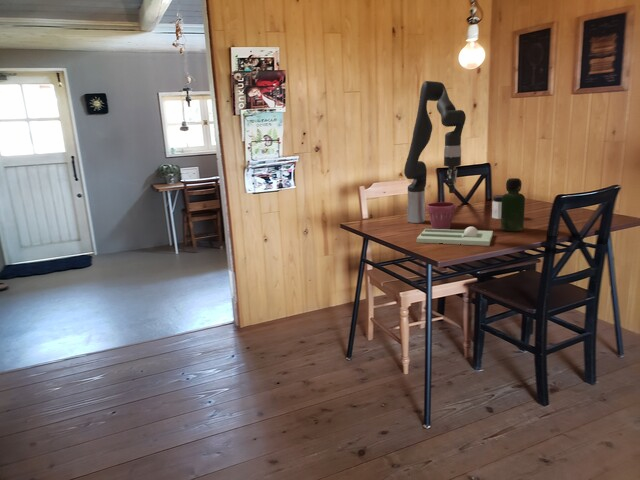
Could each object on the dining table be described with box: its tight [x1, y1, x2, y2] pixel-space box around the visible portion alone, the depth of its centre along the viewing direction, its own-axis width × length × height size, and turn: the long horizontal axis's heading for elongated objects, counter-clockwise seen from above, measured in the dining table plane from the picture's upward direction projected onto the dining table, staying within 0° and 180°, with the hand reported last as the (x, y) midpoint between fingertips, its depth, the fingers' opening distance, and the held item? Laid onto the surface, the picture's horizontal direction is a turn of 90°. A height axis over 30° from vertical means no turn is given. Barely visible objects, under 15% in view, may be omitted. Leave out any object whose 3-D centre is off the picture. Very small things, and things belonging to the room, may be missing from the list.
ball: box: [464, 226, 479, 238], centre depth 219 cm, size 6×6×6 cm
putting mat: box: [416, 228, 494, 247], centre depth 222 cm, size 32×20×3 cm, turn 66°
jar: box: [491, 194, 504, 220], centre depth 259 cm, size 9×8×12 cm
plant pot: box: [426, 201, 456, 230], centre depth 242 cm, size 14×14×13 cm
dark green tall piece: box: [500, 177, 526, 232], centre depth 230 cm, size 10×10×25 cm
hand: (451, 192), depth 220 cm, fingers closed
